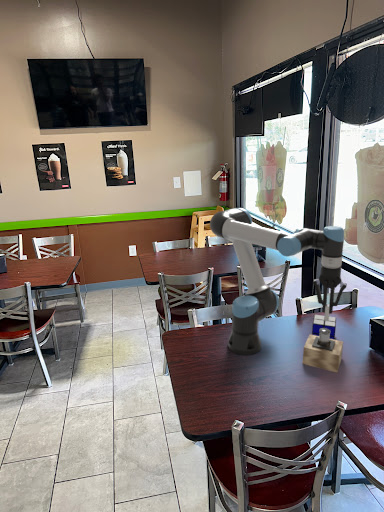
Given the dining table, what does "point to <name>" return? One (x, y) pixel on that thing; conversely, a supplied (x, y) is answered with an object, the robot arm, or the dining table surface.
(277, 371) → the dining table surface
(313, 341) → the socket block
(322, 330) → the peg
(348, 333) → the dining table surface
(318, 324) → the puzzle cube
